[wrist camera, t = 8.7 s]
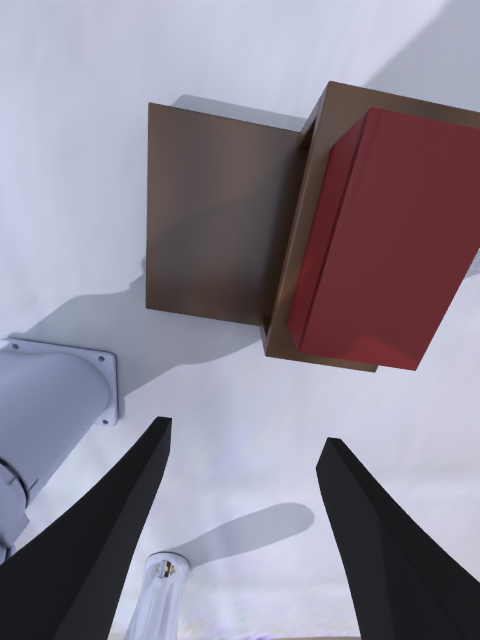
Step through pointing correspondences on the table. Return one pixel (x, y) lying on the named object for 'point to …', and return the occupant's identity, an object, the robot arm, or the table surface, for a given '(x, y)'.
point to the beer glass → (159, 598)
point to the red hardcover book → (388, 239)
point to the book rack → (247, 208)
